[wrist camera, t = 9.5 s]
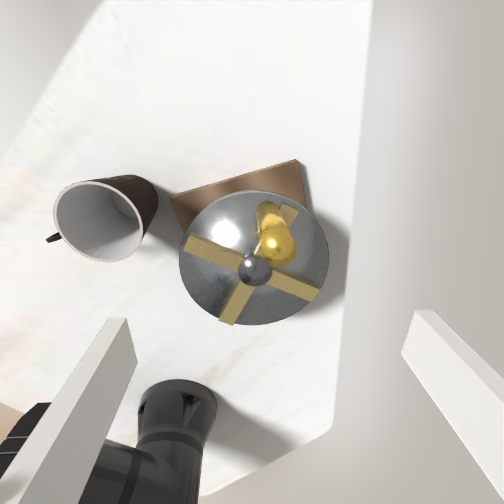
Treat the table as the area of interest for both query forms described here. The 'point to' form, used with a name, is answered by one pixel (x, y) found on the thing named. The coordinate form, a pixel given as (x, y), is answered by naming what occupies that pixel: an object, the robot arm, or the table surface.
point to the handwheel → (253, 258)
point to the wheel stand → (240, 189)
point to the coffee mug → (105, 216)
